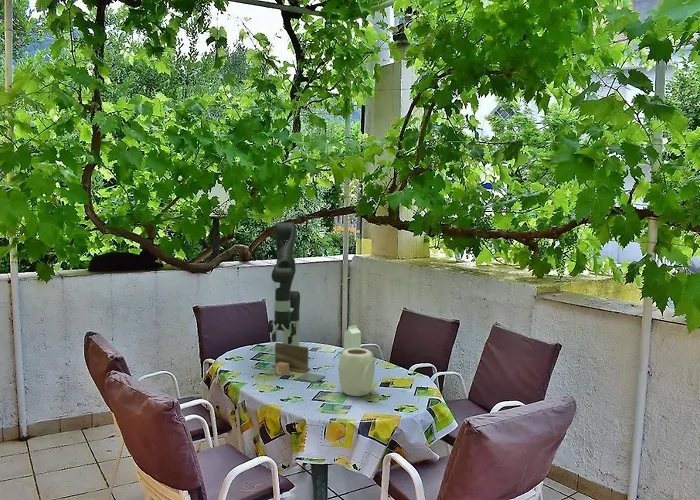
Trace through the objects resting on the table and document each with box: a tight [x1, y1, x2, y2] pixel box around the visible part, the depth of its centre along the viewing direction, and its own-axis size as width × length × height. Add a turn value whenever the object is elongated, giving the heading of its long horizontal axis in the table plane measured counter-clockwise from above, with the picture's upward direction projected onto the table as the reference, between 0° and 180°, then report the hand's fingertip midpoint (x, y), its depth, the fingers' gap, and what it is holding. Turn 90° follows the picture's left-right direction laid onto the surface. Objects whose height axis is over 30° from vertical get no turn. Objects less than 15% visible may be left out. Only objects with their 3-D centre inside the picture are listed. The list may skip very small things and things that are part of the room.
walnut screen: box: [272, 342, 311, 374], centre depth 293 cm, size 6×18×12 cm, turn 65°
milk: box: [343, 324, 362, 351], centre depth 295 cm, size 6×6×22 cm
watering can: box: [337, 347, 377, 397], centre depth 259 cm, size 16×27×19 cm, turn 31°
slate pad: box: [295, 372, 326, 384], centre depth 279 cm, size 10×10×1 cm
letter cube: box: [274, 362, 290, 377], centre depth 285 cm, size 5×5×5 cm
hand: (281, 342), depth 284 cm, fingers open, 8 cm apart
